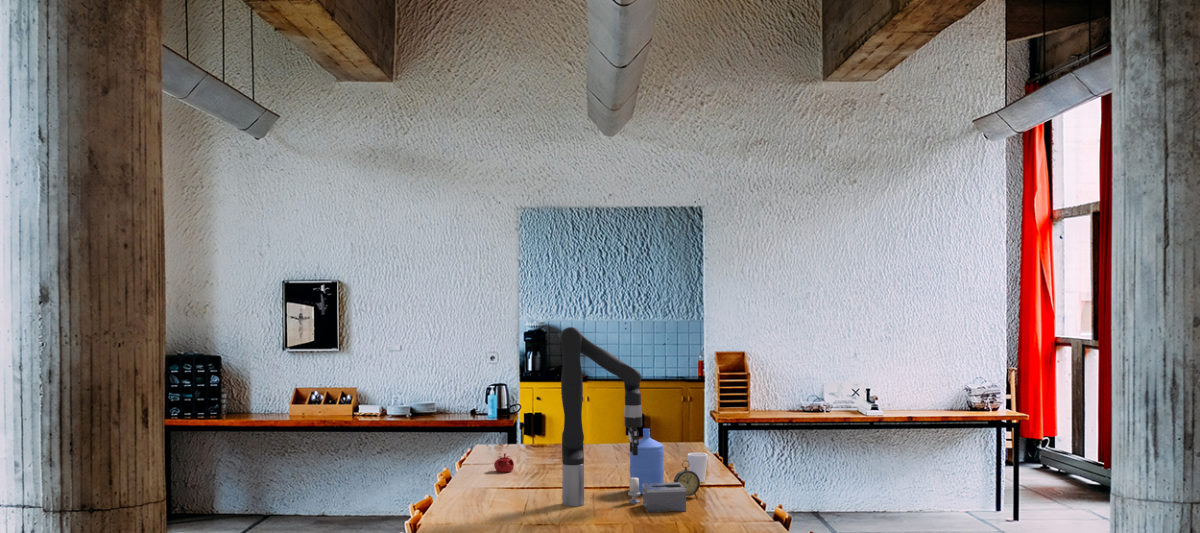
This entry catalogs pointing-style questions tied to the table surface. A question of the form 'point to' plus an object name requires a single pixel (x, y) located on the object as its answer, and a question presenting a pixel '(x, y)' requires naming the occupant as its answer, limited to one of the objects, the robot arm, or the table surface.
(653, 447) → the water jug
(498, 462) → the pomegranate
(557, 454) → the table surface
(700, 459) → the foam cup
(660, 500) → the keyhole stand
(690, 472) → the alarm clock
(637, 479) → the peg
